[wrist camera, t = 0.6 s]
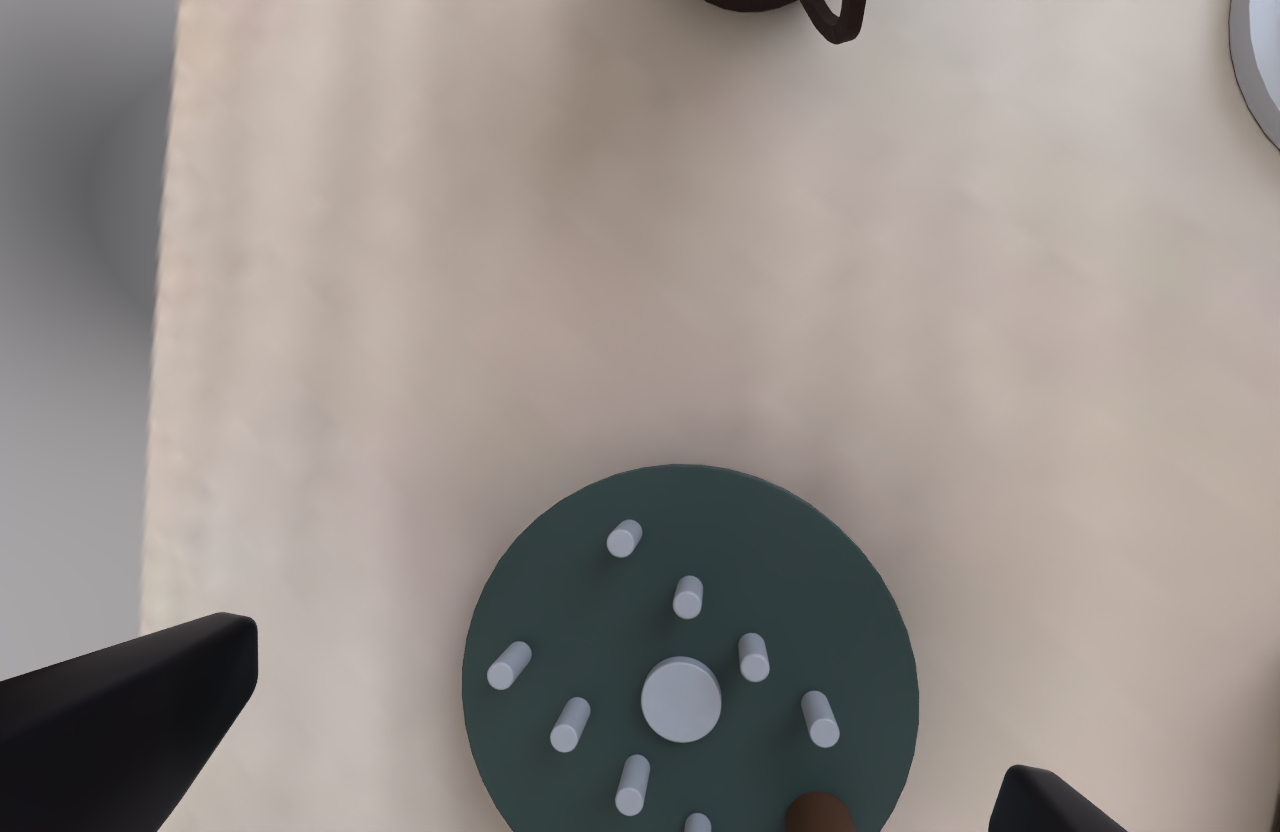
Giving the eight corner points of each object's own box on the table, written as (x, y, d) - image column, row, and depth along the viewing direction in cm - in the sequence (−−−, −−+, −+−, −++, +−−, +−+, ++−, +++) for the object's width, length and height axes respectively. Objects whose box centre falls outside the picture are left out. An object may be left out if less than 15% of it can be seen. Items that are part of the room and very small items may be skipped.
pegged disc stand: (389, 685, 23) (42, 965, 11) (667, 374, 22) (606, 321, 10) (700, 994, 22) (676, 1673, 10) (1008, 679, 21) (1389, 1021, 9)
